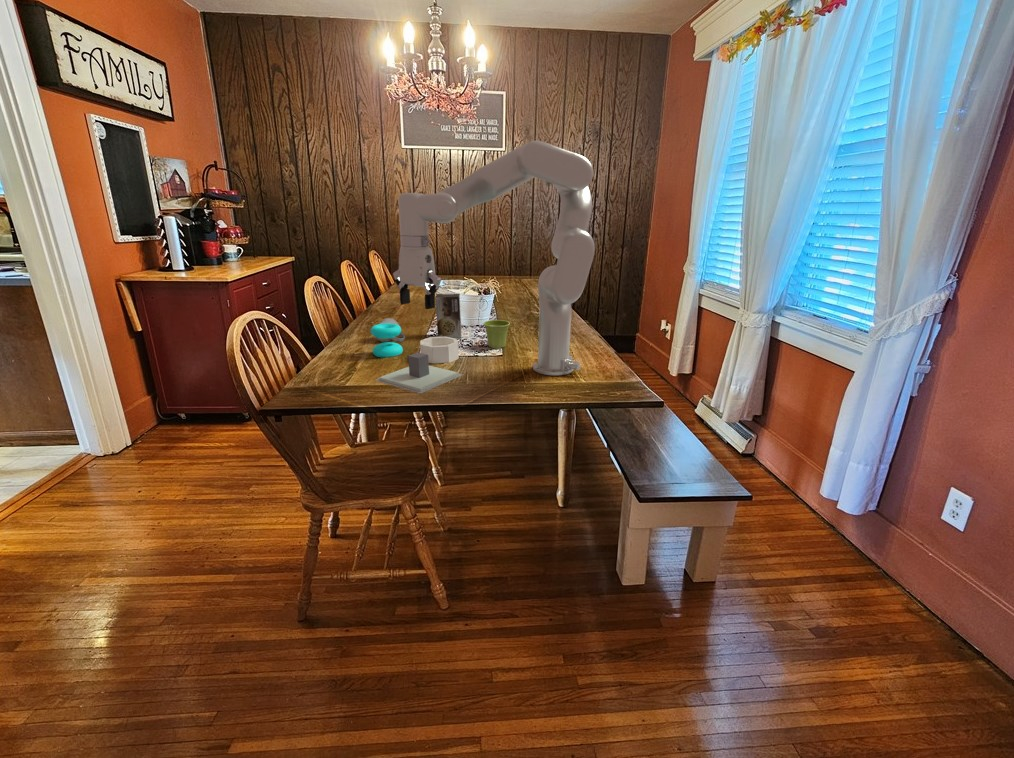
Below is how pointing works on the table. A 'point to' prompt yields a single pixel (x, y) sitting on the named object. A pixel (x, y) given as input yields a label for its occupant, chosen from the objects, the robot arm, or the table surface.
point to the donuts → (388, 347)
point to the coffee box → (448, 315)
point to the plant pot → (496, 332)
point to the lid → (419, 374)
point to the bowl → (440, 349)
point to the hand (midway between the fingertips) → (417, 306)
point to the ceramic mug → (393, 337)
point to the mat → (416, 390)
